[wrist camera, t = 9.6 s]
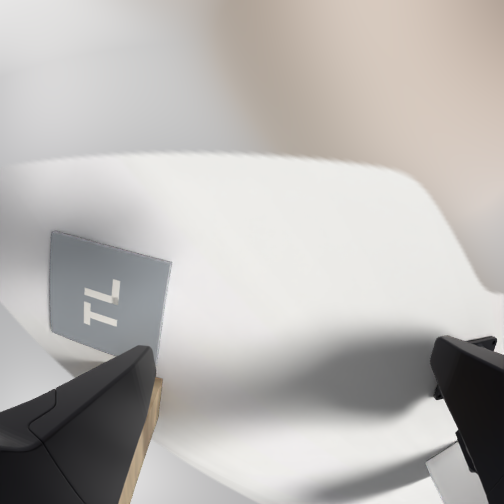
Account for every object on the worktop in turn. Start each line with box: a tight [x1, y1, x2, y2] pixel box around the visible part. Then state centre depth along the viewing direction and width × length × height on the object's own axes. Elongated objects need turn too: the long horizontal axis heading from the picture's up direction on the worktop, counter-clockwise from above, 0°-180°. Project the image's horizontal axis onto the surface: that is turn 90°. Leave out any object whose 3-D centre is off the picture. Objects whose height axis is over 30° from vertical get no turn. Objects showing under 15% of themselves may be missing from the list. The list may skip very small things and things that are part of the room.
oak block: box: [118, 377, 163, 504], centre depth 18 cm, size 5×5×12 cm
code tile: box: [50, 231, 172, 366], centre depth 22 cm, size 10×9×1 cm
